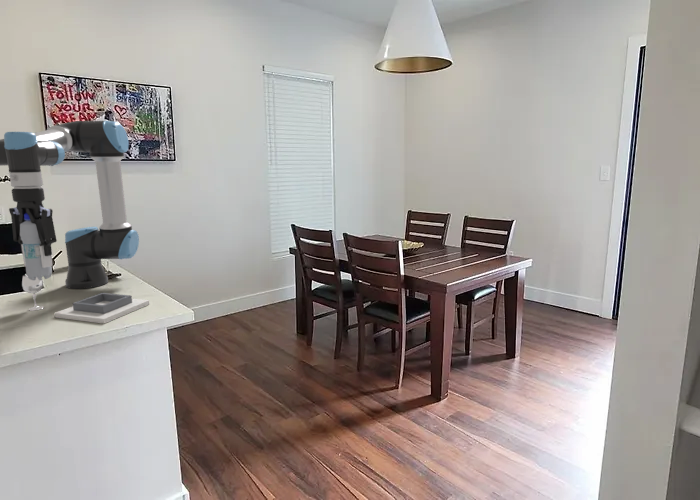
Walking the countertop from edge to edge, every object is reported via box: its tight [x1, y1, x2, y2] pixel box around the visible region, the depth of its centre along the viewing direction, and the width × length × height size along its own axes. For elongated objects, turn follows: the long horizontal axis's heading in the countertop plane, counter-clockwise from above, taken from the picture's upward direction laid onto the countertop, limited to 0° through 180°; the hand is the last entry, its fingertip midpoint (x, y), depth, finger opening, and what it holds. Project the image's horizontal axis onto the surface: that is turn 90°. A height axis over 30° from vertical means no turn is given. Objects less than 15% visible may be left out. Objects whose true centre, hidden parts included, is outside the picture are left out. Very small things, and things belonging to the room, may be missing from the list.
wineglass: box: [21, 273, 45, 312], centre depth 154 cm, size 6×6×12 cm
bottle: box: [20, 213, 53, 281], centre depth 133 cm, size 7×7×20 cm
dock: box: [53, 292, 150, 324], centre depth 153 cm, size 20×20×4 cm
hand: (38, 265), depth 134 cm, fingers closed on bottle, 6 cm apart
